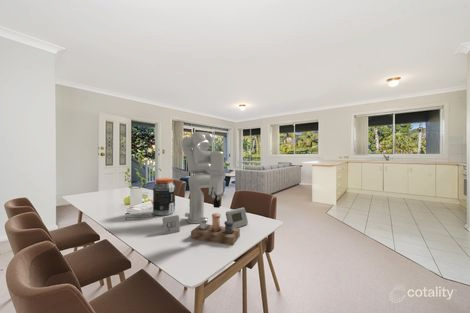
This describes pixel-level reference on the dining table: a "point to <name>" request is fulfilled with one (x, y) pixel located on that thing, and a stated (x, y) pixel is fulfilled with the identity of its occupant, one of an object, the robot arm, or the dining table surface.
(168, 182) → the supplement tub
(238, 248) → the dining table surface
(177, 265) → the dining table surface
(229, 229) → the charcoal peg
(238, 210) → the digital clock
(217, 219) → the terracotta peg
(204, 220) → the grey peg
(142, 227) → the dining table surface
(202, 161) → the robot arm
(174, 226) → the electrical switch
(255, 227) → the dining table surface
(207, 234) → the walnut block
